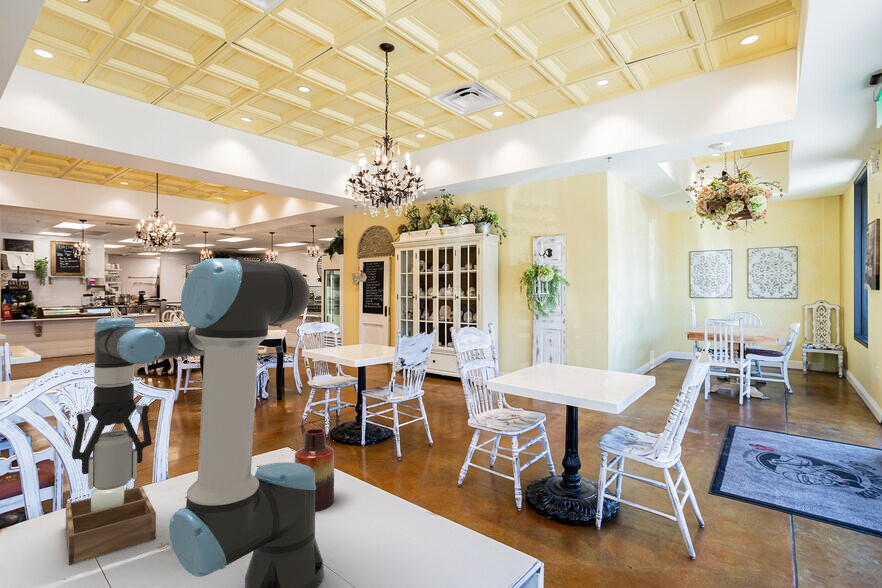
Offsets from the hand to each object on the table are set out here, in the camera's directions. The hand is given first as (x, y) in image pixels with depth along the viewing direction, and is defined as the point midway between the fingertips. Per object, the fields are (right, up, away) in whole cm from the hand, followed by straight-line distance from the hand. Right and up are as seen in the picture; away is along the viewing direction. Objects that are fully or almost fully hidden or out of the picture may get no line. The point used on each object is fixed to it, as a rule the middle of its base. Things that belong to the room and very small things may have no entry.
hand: (112, 481), depth 102 cm
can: (0, -1, 0) cm, 1 cm away
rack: (-3, -15, +3) cm, 16 cm away
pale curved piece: (-7, -14, +7) cm, 17 cm away
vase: (+41, -16, +22) cm, 49 cm away
